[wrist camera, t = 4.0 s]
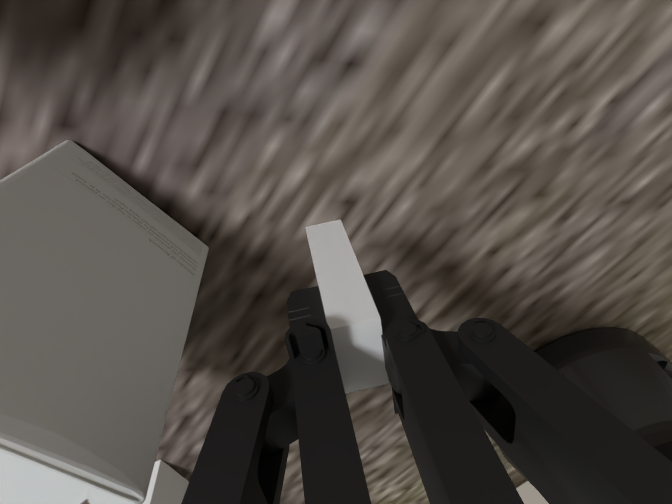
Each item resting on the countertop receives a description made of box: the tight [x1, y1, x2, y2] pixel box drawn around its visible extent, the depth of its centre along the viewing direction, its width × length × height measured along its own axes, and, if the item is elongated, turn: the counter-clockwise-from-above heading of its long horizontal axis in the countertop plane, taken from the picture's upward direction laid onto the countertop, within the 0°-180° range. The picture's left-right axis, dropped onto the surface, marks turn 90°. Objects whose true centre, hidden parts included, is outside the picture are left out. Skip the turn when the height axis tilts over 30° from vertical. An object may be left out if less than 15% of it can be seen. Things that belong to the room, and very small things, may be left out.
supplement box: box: [0, 140, 209, 504], centre depth 17 cm, size 9×9×15 cm
